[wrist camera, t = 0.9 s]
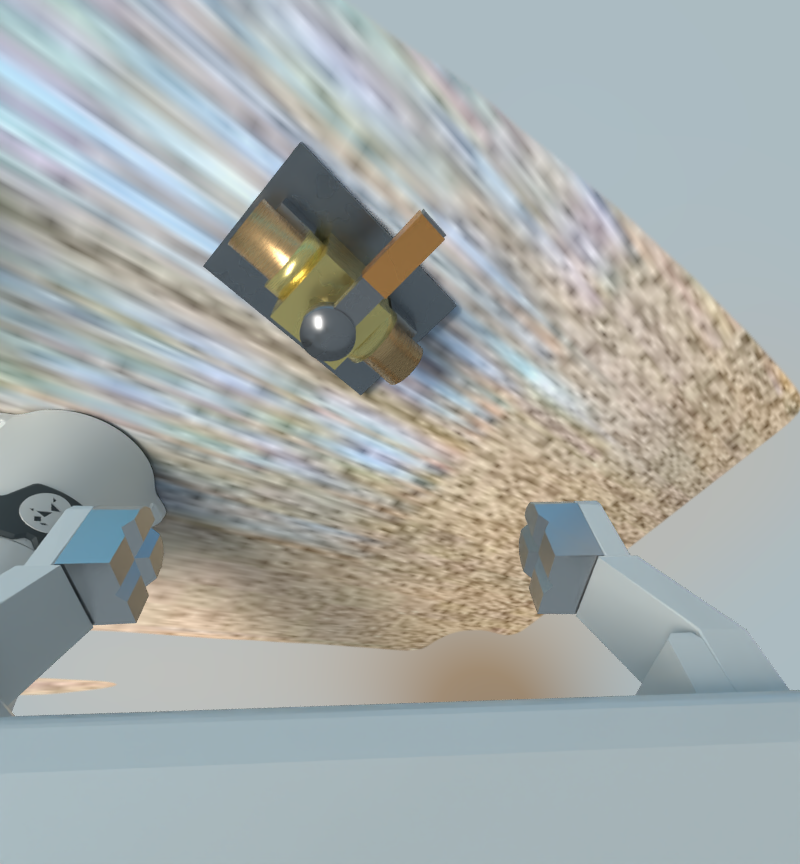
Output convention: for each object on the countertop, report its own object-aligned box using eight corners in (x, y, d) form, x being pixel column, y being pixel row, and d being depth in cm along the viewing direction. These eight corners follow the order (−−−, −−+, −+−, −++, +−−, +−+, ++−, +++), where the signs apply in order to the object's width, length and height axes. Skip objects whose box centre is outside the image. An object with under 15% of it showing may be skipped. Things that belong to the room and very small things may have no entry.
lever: (331, 362, 34) (330, 371, 33) (290, 328, 33) (288, 336, 31) (452, 241, 30) (456, 247, 29) (412, 196, 29) (415, 200, 27)
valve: (360, 391, 47) (360, 449, 39) (205, 263, 39) (166, 302, 31) (454, 302, 43) (476, 347, 35) (301, 141, 35) (284, 151, 27)
